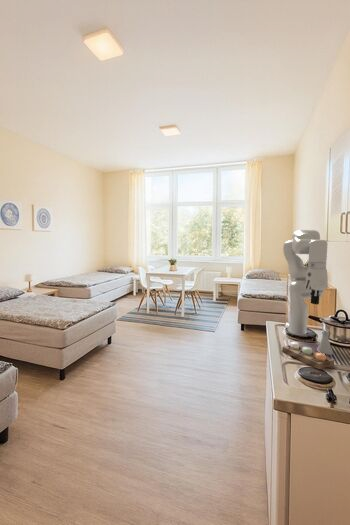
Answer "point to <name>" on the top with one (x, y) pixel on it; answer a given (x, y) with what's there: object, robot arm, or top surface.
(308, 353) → the button
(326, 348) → the flask
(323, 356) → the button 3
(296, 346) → the button
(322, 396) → the top surface
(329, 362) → the panel
